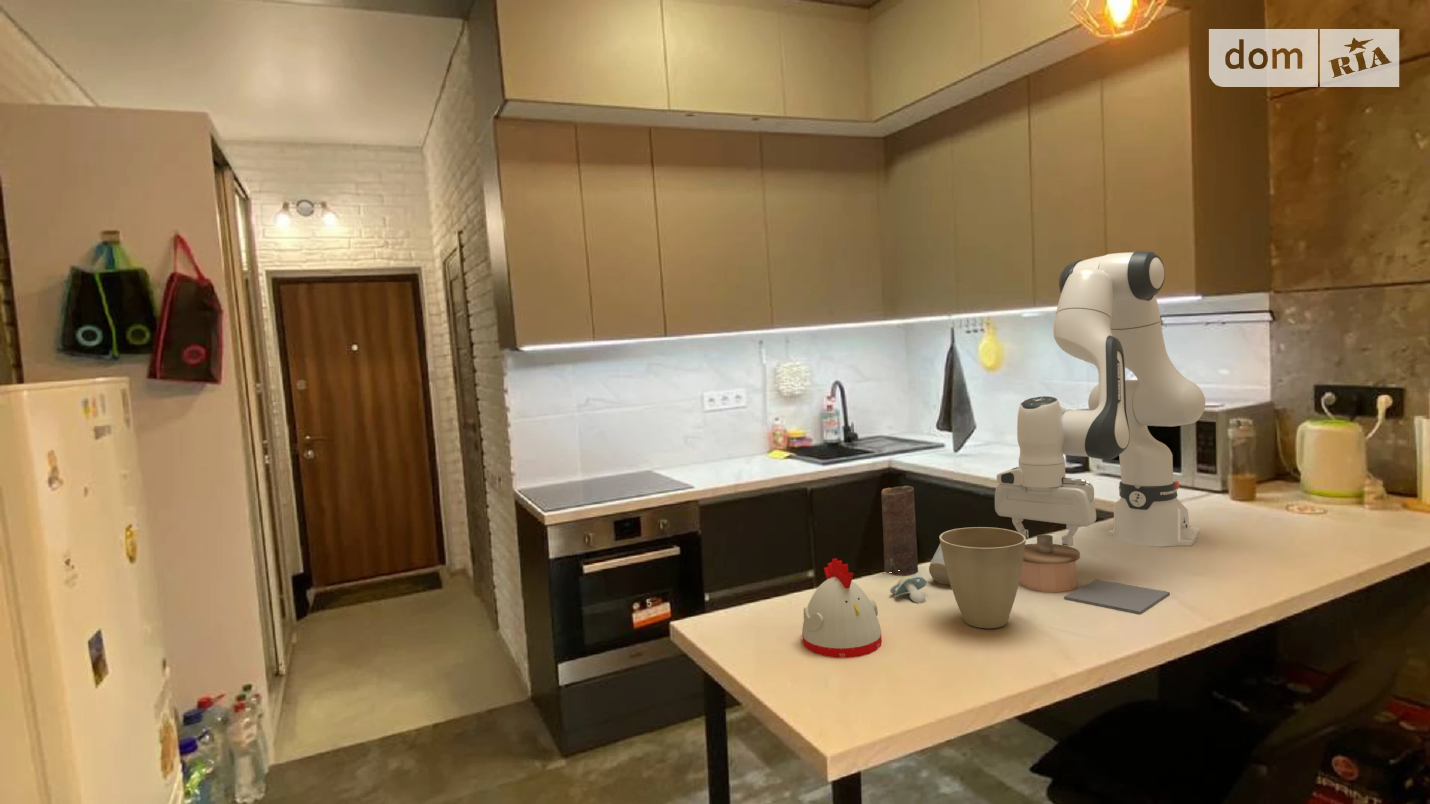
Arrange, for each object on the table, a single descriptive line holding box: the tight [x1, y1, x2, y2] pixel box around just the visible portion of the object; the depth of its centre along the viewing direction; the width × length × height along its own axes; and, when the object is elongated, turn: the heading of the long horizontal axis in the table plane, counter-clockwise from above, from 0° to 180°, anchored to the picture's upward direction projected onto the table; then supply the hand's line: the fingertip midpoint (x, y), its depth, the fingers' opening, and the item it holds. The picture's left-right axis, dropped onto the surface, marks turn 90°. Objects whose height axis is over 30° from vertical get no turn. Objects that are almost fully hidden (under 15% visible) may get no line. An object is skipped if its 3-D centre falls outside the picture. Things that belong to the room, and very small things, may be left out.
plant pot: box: [938, 526, 1027, 629], centre depth 141 cm, size 15×15×16 cm
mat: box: [1063, 578, 1171, 615], centre depth 150 cm, size 14×14×1 cm
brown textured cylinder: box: [881, 485, 919, 577], centre depth 172 cm, size 8×7×20 cm
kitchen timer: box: [801, 557, 883, 659], centre depth 137 cm, size 14×14×15 cm
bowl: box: [1019, 561, 1077, 593], centre depth 161 cm, size 11×11×6 cm
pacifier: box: [889, 575, 927, 604], centre depth 156 cm, size 7×6×6 cm
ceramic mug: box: [928, 543, 951, 586], centre depth 163 cm, size 11×8×8 cm
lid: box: [1023, 534, 1081, 564], centre depth 160 cm, size 13×13×5 cm
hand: (1045, 541), depth 160 cm, fingers open, 8 cm apart
